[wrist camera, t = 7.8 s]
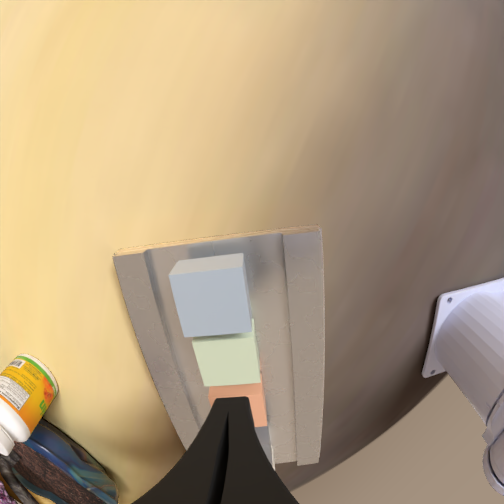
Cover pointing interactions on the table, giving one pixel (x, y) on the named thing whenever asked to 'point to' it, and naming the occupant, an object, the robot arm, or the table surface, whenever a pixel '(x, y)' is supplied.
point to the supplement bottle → (23, 399)
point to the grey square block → (212, 295)
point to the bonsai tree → (54, 471)
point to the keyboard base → (266, 327)
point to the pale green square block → (228, 358)
